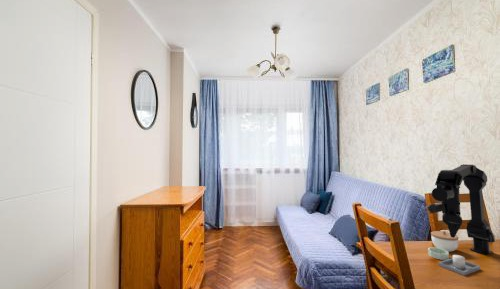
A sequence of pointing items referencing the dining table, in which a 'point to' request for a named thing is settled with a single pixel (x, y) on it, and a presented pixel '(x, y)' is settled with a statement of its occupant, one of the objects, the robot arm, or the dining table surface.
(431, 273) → the dining table surface
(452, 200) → the robot arm
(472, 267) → the parts tray
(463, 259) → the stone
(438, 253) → the bowl
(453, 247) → the lidded jar
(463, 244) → the dining table surface
